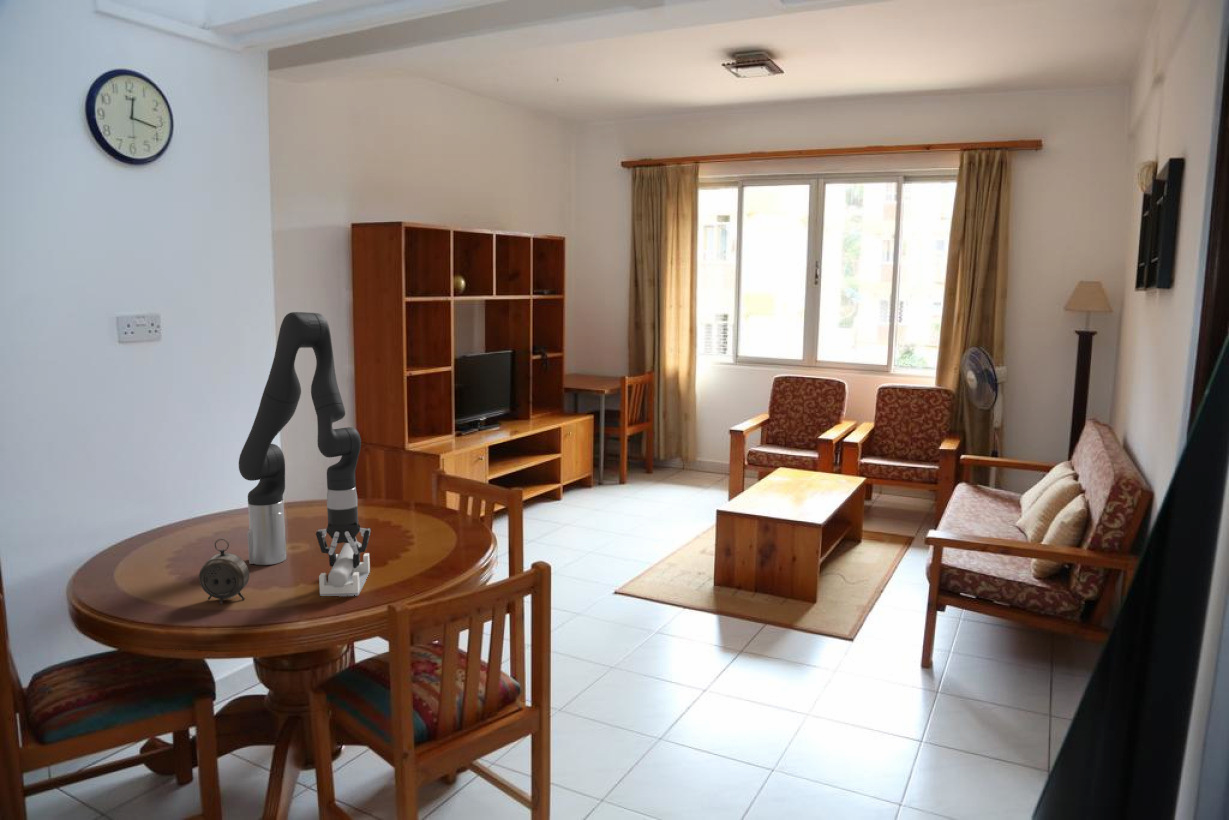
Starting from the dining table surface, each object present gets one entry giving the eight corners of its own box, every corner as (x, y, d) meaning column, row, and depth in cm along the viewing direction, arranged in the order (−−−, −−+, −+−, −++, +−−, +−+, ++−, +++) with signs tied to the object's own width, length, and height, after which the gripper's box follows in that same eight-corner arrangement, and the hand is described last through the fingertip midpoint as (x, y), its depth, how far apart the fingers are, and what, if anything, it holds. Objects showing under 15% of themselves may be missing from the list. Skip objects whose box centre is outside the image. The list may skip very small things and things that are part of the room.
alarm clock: (251, 597, 219) (247, 535, 217) (243, 605, 214) (239, 541, 211) (207, 597, 219) (203, 535, 216) (198, 605, 214) (193, 542, 211)
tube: (350, 574, 216) (364, 542, 240) (329, 568, 215) (345, 536, 239) (343, 593, 217) (358, 560, 241) (322, 587, 216) (339, 554, 240)
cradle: (320, 597, 220) (319, 576, 219) (334, 573, 237) (333, 554, 236) (358, 595, 220) (357, 575, 220) (370, 572, 238) (369, 553, 237)
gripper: (310, 509, 221) (313, 573, 223) (368, 507, 222) (370, 571, 225) (317, 501, 228) (320, 563, 231) (373, 500, 230) (375, 561, 232)
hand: (345, 567), depth 228 cm, fingers open, 5 cm apart
